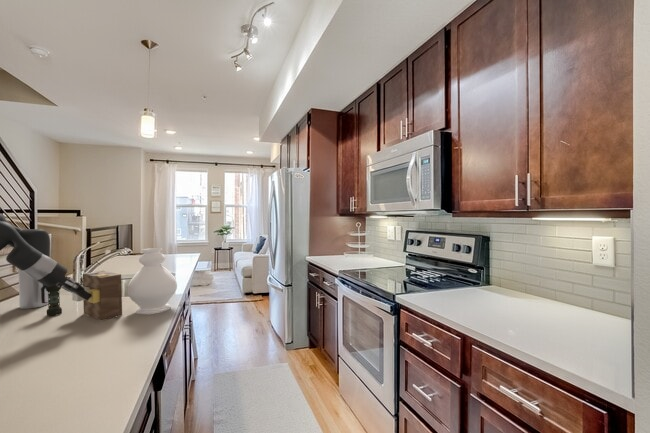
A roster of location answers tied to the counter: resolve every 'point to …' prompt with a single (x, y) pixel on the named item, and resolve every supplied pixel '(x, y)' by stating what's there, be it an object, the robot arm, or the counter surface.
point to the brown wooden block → (104, 295)
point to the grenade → (52, 299)
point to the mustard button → (94, 295)
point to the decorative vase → (152, 283)
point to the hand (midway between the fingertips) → (88, 297)
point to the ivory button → (77, 297)
